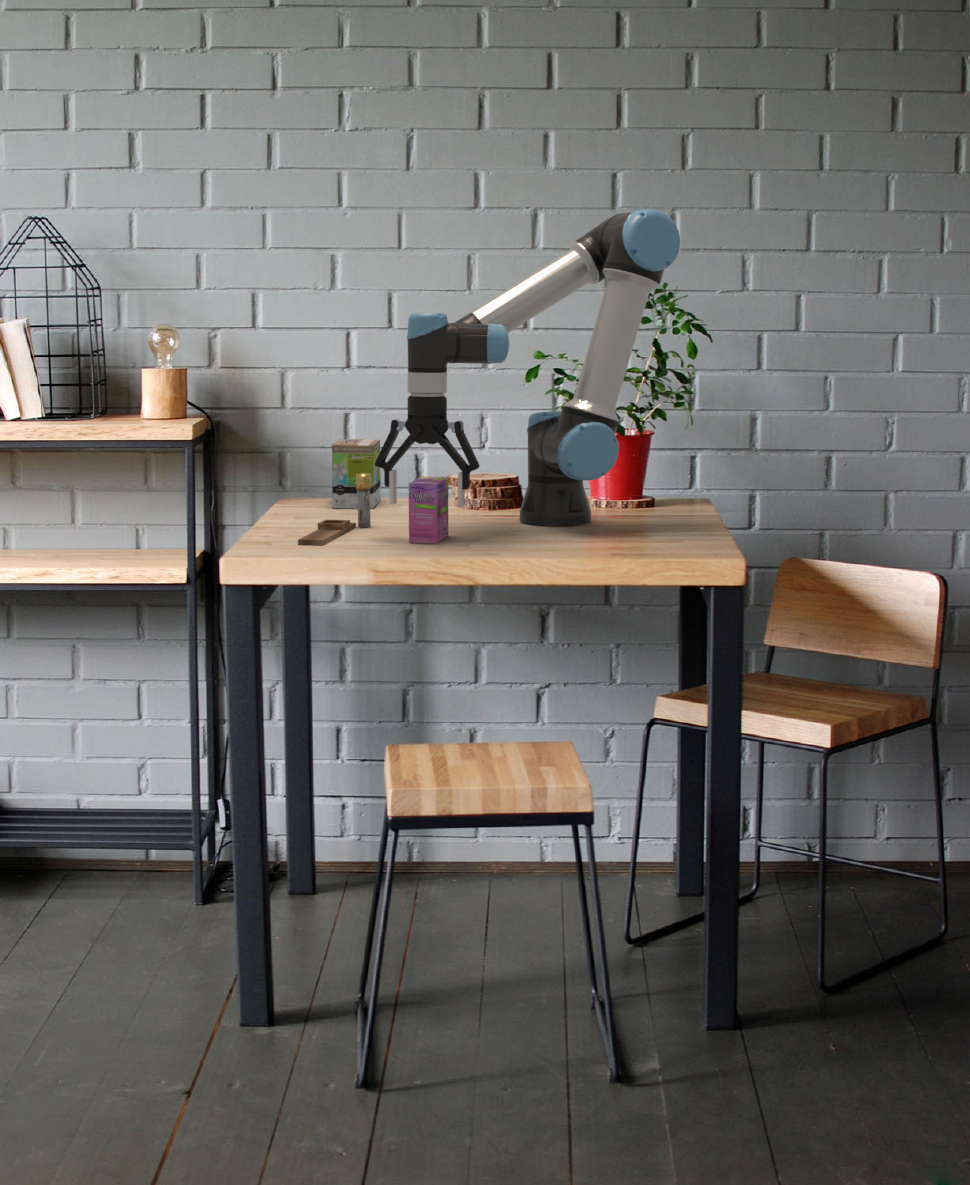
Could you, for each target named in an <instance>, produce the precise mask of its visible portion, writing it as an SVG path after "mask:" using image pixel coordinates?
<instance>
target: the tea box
mask: <svg viewBox="0 0 970 1185" xmlns="http://www.w3.org/2000/svg"><path fill="white" fill-rule="evenodd" d="M380 451H381V440H380V439H372V438H371V439H370V438H369V439H368V438H367V439H365V438H364V439H363V438H362V439H361V438H360V439H359V438H357V439H355V438H351V439H349V438H347V439H339V440H337V441H336V442H334V443H333V444H332V445H331V458H332V459H331V478H332V480H331V482H332V484H331V485H332V486H331V487H332V488H331V490H332V492H331V494H332V495H331V496H332V497H331V502H332V504H331V505H332V509H347V510H348V509H354V510H355V509H357V510H358V505H357V489H356V474H359V473H369V474H370V480H371V489H370V509H374V508H375V507H376V505H378V503H379V501H381V496H382V495H381V492H382V490H381V489H382V488H381V487H382V486H381V468H380V467H376V466H375V461H376V459H377V457H378V455H379V453H380Z"/></svg>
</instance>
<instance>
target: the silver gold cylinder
mask: <svg viewBox="0 0 970 1185" xmlns="http://www.w3.org/2000/svg"><path fill="white" fill-rule="evenodd" d="M356 489H357V505H358V509H357V528H360V529H368V528H371V525H372V524H371V508H370V489H371V480H370V474H369V473H359V474H356Z"/></svg>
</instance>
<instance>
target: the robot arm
mask: <svg viewBox="0 0 970 1185" xmlns="http://www.w3.org/2000/svg"><path fill="white" fill-rule="evenodd" d="M680 249H681V235H680V231H679V229H678V228H677V225H676V223H675V221H674V220H673V219H672V218H671V217H670V216H669V215H668V214H667V213H665V212H664V211H661V210H657V209H652V208H640V209H637V210H634V211H630V212H621V213H617V214H614V215H613V216H609V217H608V218H607V219H605V220H604V221H603V222H601V223H599V224H598V225H596V226H595V227H594V228H593V229H591V230H589V231H588V232H586V234H583V235H582V236H580V237H579V238H578V239H577V240H575V241H574V242H571V244H570V247H569V250H567V252H565V253H563V254H562V255H560V256H558V257H557V258H555V259H554V260H552V261H550V262H549V263H547V264H546V265H545V266H543V267H540V269H538V270H536V271H534V272H533V273H532V274H529V275H528V276H527V277H525V278H524V279H522V280H520V281H519V282H516V283H515V284H514V285H512V286H510V287H509V288H507V289H506V290H504V291H503V292H501V293H500V294H497V295H496V296H494V297H492V298H491V299H490V300H488V301H486V302H485V303H483V304H482V305H480V306H478V307H477V308H476V309H474V310H472V311H471V312H469V313H467V314H466V315H464V316H463V317H460V318H459V319H458V320H456V321H455V322H449V320H448V316H447V314H446V313H444V312H412V313H411V314H410V315H409V316H408V321H407V322H408V323H407V335H406V339H407V392H408V393H409V394H410V395H409V396H408V397H407V419H406V420H401V419H399V418H395V419H392V420H391V422H390V430H389V433H388V435H387V437H386V439H385V440H384V442H383V445H382V447H381V448H380V453H379V455H378V457H377V459H376V461H375V466H376V467H380V469H382V470H383V471H384V474H383V475H384V477H383V479H384V487H386V488H387V487H388V488H389V490H388V491H389V492H388V493H389V495H388V496H389V497H388V498H389V499H388V500H389V501H388V503H389V504H388V505H392V506H393V505H395V504H397V502H398V500H397V499H398V498H397V497H398V496H397V492H398V490H397V489H398V488H397V486H398V483H397V482H398V481H397V478H398V475H397V469H394V467H395V466H396V464H397V463H398V462H399V461H400V460H401V458H403V457H404V455H405V454H406V452H407V451H408V450H410V448H411V447H412V445H414V443H417V444H419V445H422V444H429V445H435V444H437V443H438V444H439V445H440V447H442V449H443V450H444V451H445V452H446V454H447V455H448V456H449V457H450V458H451V460H452V461H453V462H454V463H455V465H456V466H457V467H458V468H459V470H460V472H458V473H457V508H463V507H465V490H469V489H470V486H471V485H470V484H471V482H470V480H471V472H473V471H476V470H478V469H479V468H480V462H479V461H478V459H477V457H476V455H475V452H474V450H473V448H472V446H471V444H470V442H469V440H468V438H467V435H466V434H465V429H464V422H463V420H458V421H457V420H456V421H452V422H449V421H448V417H447V416H448V413H447V412H448V410H447V409H448V405H447V404H448V398H447V397H446V396H445V395H444V394H446V393H447V391H448V389H447V388H448V368H447V367H448V364H479V365H481V364H482V365H483V364H488V365H492V364H502V363H503V362H504V363H505V361H506V359H507V357H508V355H509V348H510V338H509V337H510V336H509V333H511V332H512V331H514V330H516V329H517V328H519V327H520V326H522V325H523V324H526V322H528V321H530V320H532V319H533V318H534V317H537V315H539V314H541V313H543V312H544V311H546V310H547V309H549V308H550V307H552V306H554V305H556V304H557V303H559V302H560V301H562V300H564V299H565V298H567V297H568V296H570V295H571V294H573V293H574V292H576V291H577V290H580V289H581V288H583V287H584V286H586V285H587V284H591V285H597V284H598V283H600V282H601V281H604V280H605V279H606V286H605V289H604V292H603V296H602V298H601V299H602V300H601V303H600V306H599V309H598V313H597V316H596V320H595V323H594V326H593V330H592V334H591V337H590V339H589V340H590V341H589V344H588V347H587V351H586V354H585V357H584V361H583V364H582V368H581V370H580V374H579V378H578V380H577V381H578V382H577V383H576V384H577V385H576V387H575V391H574V394H573V398H572V399H571V400H569V401H567V402H566V403H564V404H563V405H562V409H561V410H554V411H553V410H552V411H540V412H535V413H531V414H530V415H529V417H528V419H527V420H528V422H527V429H526V432H527V487H526V491H525V493H524V496H523V500H522V502H521V505H520V509H519V521H520V522H521V523H523V524H527V525H535V526H536V525H537V526H550V527H551V526H552V527H553V526H554V527H556V526H558V527H559V526H563V527H565V526H575V525H576V526H577V525H584V524H588V523H590V522H591V521H592V509H591V506H590V503H589V499H588V496H587V494H586V490H585V487H584V481H595V480H598V479H600V478H603V477H604V476H605V475H607V474H608V473H609V472H610V471H611V470H612V468H614V466H615V464H616V463H617V459H618V457H619V451H620V450H619V449H620V445H619V441H618V438H617V435H616V432H617V429H618V427H619V424H620V419H619V417H618V416H617V414H616V406H617V402H618V400H619V399H618V398H619V395H620V393H621V389H622V387H623V386H622V385H623V382H624V379H625V376H626V373H627V369H628V365H629V362H630V360H631V355H632V352H633V348H634V345H635V342H636V338H637V335H638V332H639V328H640V325H641V321H642V318H643V315H644V312H645V308H646V305H647V302H648V298H649V296H650V294H651V293H652V292H653V291H655V290H656V289H659V288H660V285H661V282H662V278H663V275H664V272H665V269H668V268H669V267H670V266H671V265H672V264H673V263H674V261H675V260H676V258H677V257H678V255H679V251H680ZM404 428H405V430H406V431H407V432H408V433H409V435H408V436H407V437H406V438H405V439H404V441H403V443H402V444H401V445H400V447H398V449H396V451H395V452H394V453H393V455H392V456H391V457H390V458H389V459H388V461H386V460H387V458H388V456H389V454H390V452H391V451H392V448H393V446H394V444H395V442H396V439H397V437H398V435H399V433H400V432H401V431H403V429H404ZM449 429H450V430H451V432H452V433H453V434H455V436H456V439H457V441H458V443H459V445H460V447H461V450H462V452H463V454H464V456H465V458H466V460H467V462H466V460H465V459H464V457H462V455H461V454H460V453H459V452H458V451H457V449H456V448H455V446H454V445H453V444H452V443H451V441H450V440H449V438H448V437H447V436H446V433H447V431H448V430H449Z"/></svg>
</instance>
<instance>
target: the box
mask: <svg viewBox="0 0 970 1185" xmlns="http://www.w3.org/2000/svg"><path fill="white" fill-rule="evenodd" d="M449 481H450V480H449V476H431V475H429V476H427V475H426V476H424V475H423V476H420V477H418V478H416V479H415V480H412V481H411V482H408V544H415V545H417V544H418V545H420V544H421V545H437V544H438V543H440V542H441V541H442V540H443V539H445V538H446V537H448V536H449V531H450V529H449V486H450V485H449V484H450V483H449Z"/></svg>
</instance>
